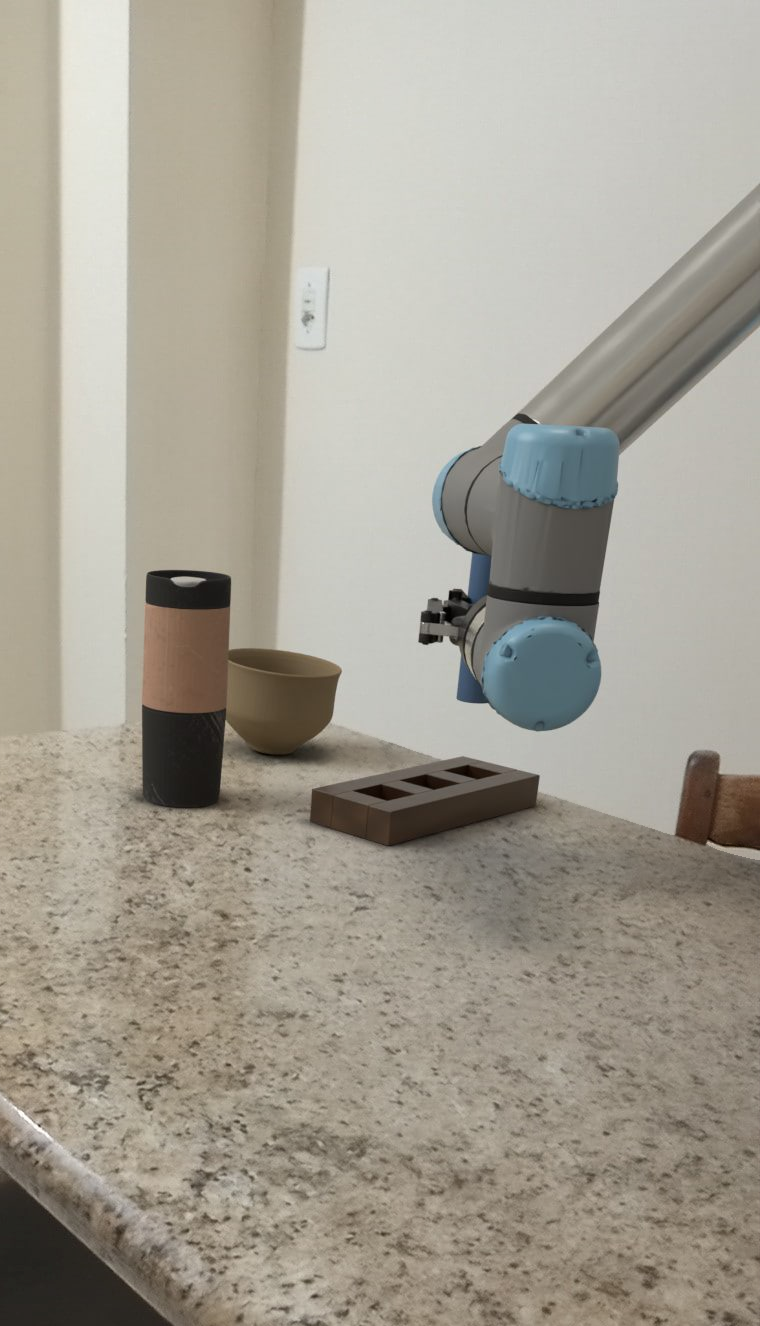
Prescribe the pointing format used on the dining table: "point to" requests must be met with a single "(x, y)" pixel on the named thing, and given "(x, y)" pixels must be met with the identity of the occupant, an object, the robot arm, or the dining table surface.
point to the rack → (423, 799)
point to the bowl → (279, 697)
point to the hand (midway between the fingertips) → (476, 605)
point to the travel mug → (184, 686)
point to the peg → (476, 590)
